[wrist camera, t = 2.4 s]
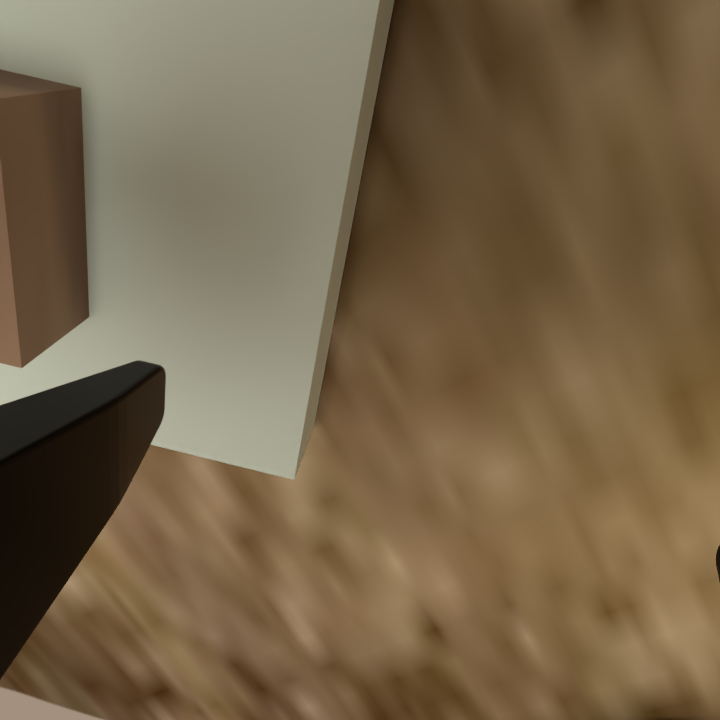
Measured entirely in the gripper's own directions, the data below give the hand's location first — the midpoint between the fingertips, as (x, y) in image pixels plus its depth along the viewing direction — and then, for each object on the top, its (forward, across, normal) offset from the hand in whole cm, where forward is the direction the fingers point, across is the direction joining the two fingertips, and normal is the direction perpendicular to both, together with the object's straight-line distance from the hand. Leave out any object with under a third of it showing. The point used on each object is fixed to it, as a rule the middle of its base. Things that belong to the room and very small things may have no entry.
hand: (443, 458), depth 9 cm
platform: (+10, +10, 0) cm, 14 cm away
